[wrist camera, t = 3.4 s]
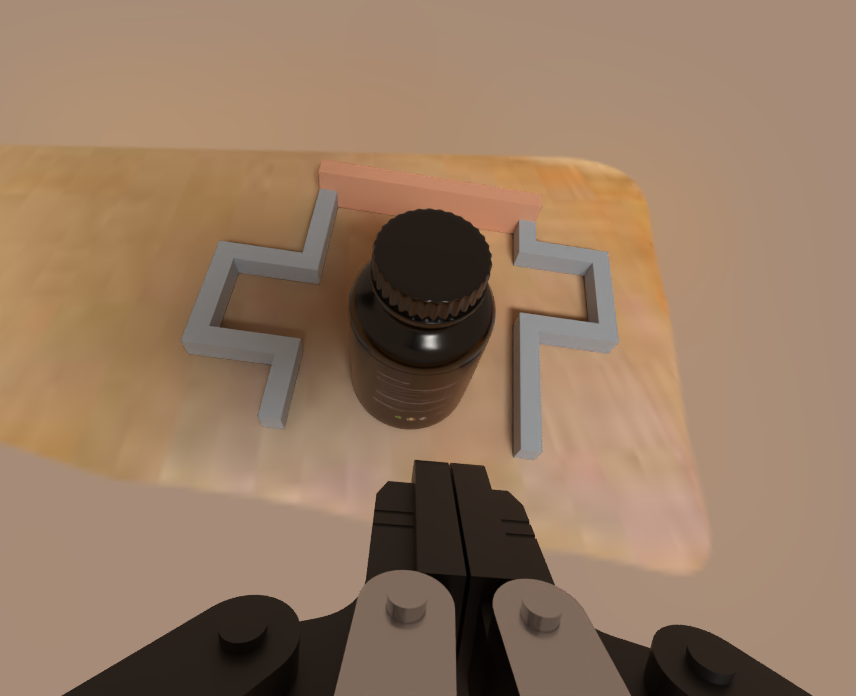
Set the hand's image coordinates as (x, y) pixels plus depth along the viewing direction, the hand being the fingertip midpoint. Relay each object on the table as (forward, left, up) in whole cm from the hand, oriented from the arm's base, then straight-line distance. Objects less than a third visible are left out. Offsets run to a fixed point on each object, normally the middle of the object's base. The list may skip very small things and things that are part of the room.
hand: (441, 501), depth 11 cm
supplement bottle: (0, +11, -16) cm, 19 cm away
